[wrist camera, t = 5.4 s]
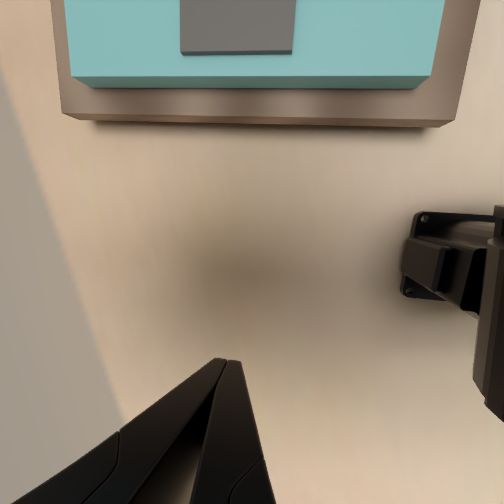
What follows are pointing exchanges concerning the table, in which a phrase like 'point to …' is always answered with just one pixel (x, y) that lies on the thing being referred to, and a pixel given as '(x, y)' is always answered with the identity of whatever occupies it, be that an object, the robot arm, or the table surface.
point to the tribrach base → (283, 91)
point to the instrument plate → (252, 43)
